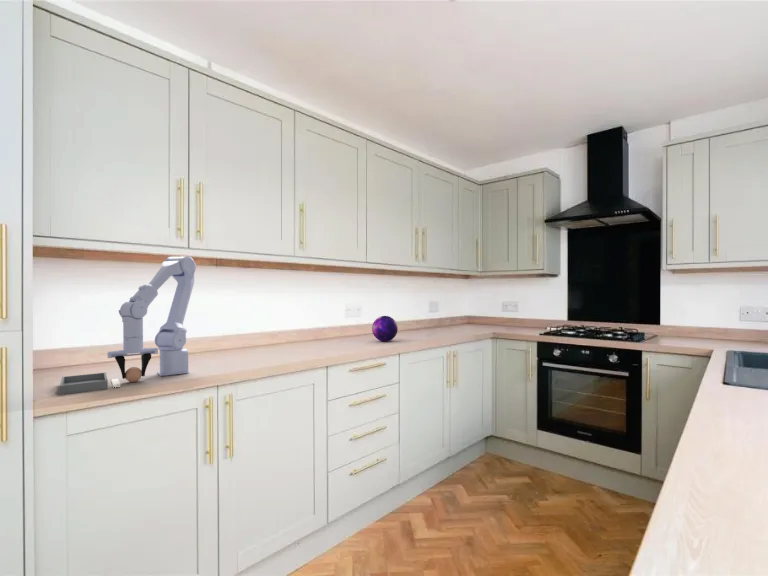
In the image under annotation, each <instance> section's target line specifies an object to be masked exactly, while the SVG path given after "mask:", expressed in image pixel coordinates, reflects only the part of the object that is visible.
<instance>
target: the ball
mask: <svg viewBox="0 0 768 576" xmlns="http://www.w3.org/2000/svg"><path fill="white" fill-rule="evenodd" d="M141 378H142V371H141V368H139V367H138V366H132V367H130V368H128V369H127V370H125V380H127V381H128V382H129V383H130V382H131V383H135V382H138V381H140V379H141Z"/></svg>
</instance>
